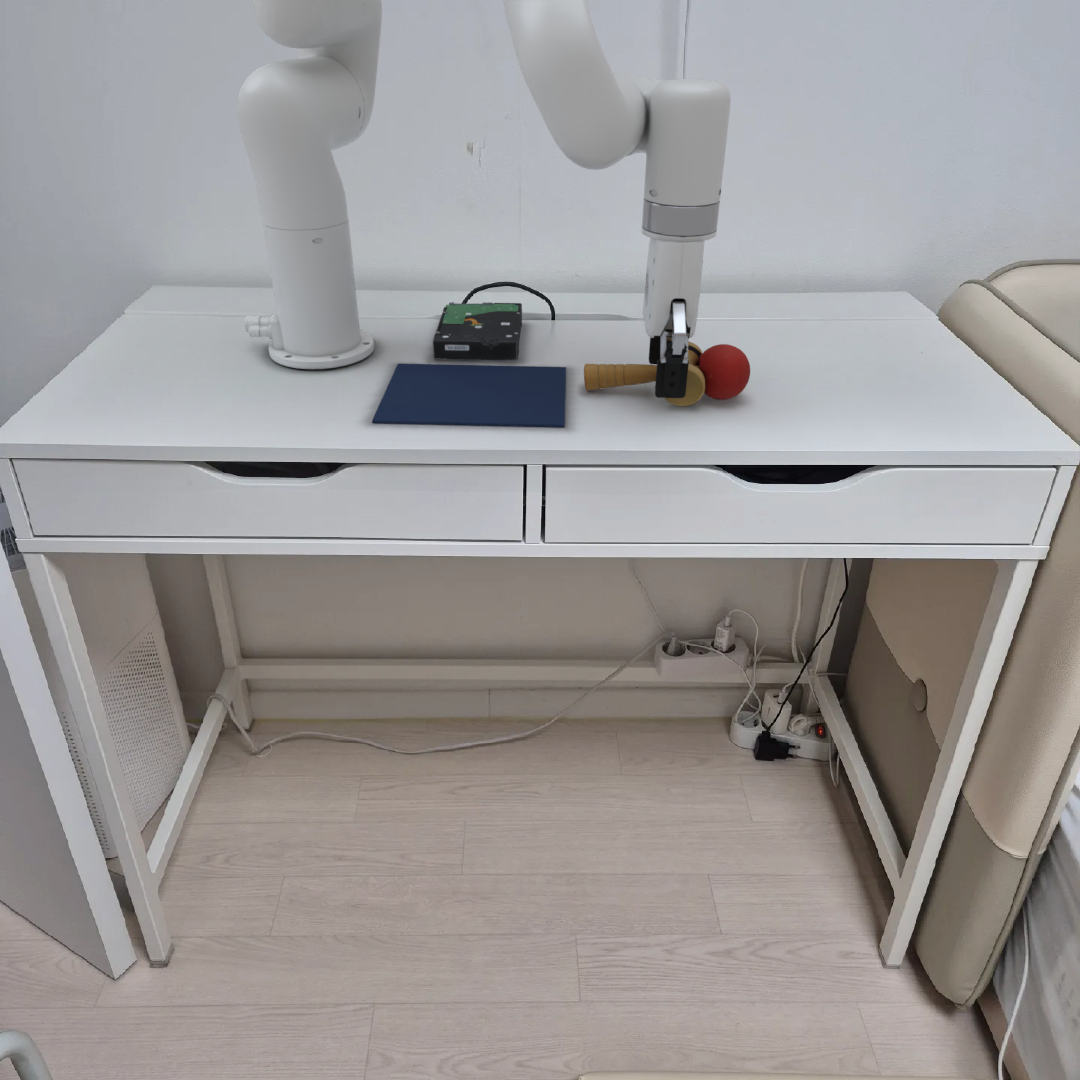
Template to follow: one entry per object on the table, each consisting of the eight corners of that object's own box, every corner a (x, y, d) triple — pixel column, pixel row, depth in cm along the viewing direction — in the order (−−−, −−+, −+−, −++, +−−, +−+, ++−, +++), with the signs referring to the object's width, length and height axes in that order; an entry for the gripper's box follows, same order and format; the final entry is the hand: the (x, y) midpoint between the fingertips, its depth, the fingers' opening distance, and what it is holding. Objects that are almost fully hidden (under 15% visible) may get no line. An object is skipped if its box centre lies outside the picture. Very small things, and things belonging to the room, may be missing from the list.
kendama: (584, 417, 98) (753, 405, 95) (579, 359, 96) (752, 345, 92) (590, 401, 105) (748, 389, 102) (586, 346, 103) (747, 333, 100)
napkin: (372, 423, 93) (372, 420, 93) (398, 365, 107) (397, 363, 106) (564, 427, 93) (564, 424, 92) (566, 369, 106) (566, 366, 106)
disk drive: (519, 364, 108) (522, 321, 120) (519, 341, 106) (522, 301, 119) (433, 363, 108) (445, 320, 120) (432, 340, 106) (444, 300, 119)
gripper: (637, 199, 97) (628, 351, 106) (648, 239, 83) (636, 411, 92) (706, 200, 97) (691, 352, 106) (730, 240, 82) (709, 413, 92)
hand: (665, 379), depth 99 cm, fingers open, 9 cm apart
